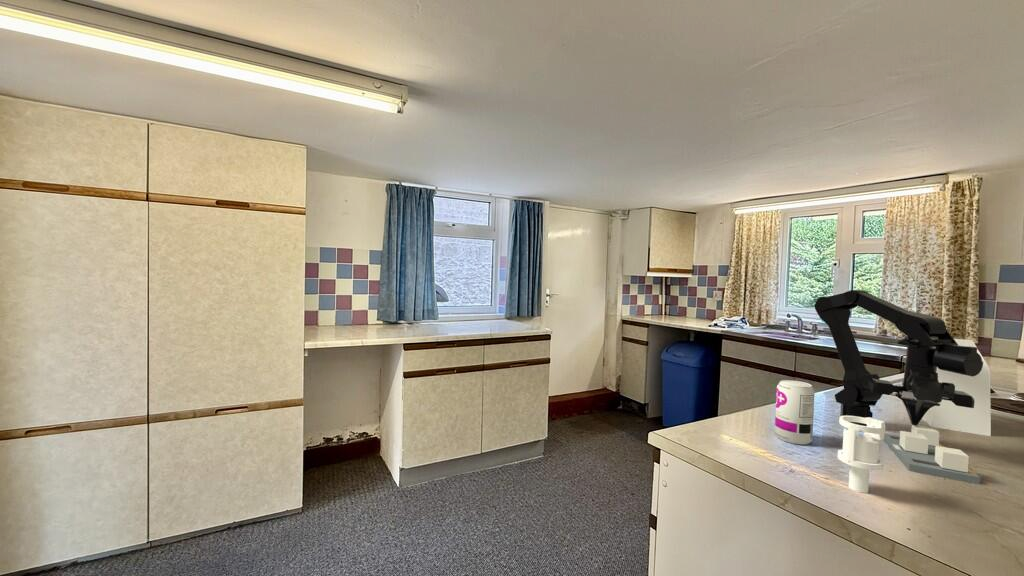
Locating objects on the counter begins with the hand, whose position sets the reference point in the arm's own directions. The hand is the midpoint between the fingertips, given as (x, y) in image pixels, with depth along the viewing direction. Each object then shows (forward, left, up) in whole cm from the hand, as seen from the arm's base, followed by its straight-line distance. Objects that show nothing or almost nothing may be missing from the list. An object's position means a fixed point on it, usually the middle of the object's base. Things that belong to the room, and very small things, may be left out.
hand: (914, 425), depth 105 cm
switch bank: (0, -8, -6) cm, 10 cm away
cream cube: (+2, 0, -4) cm, 4 cm away
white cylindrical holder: (-18, -36, -6) cm, 41 cm away
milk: (+16, +29, -6) cm, 34 cm away
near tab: (+2, -16, -4) cm, 17 cm away
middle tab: (-2, -8, -4) cm, 9 cm away
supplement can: (-27, -12, -6) cm, 30 cm away
